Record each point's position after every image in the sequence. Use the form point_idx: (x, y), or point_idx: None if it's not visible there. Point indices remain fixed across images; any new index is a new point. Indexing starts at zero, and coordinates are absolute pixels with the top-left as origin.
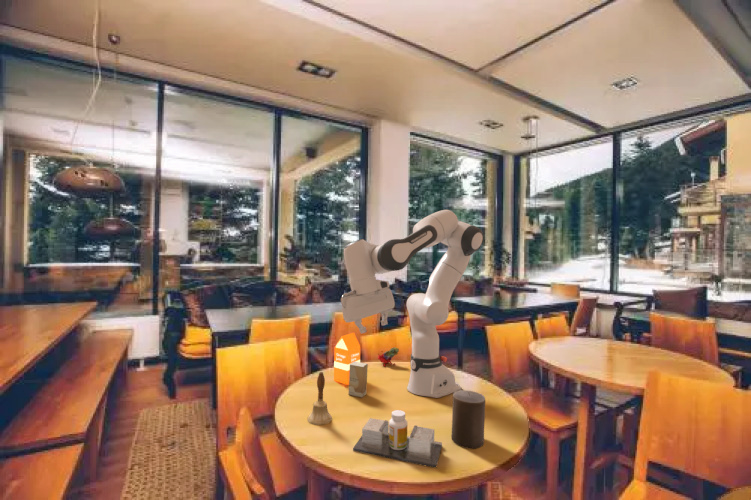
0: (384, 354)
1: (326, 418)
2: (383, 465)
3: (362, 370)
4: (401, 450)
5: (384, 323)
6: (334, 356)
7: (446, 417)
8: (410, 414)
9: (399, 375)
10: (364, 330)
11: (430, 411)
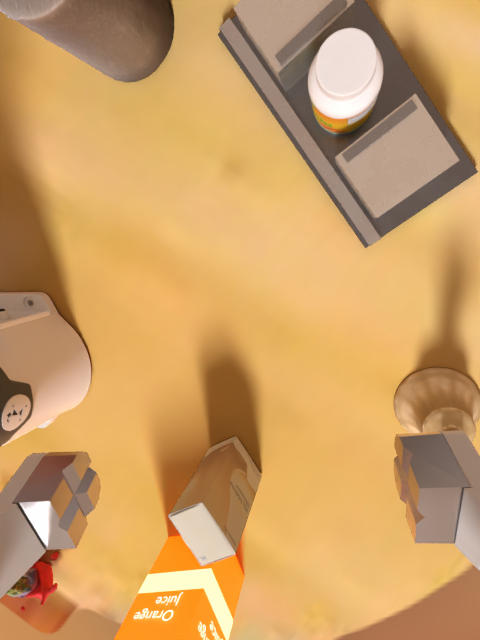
0: (29, 587)
1: (433, 379)
2: (449, 41)
3: (209, 494)
4: None
5: (71, 464)
6: None
7: (95, 180)
8: (176, 259)
9: None
10: (445, 448)
11: (113, 239)
